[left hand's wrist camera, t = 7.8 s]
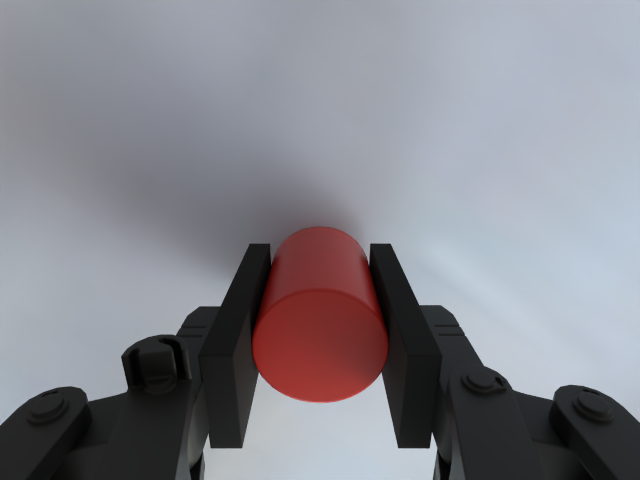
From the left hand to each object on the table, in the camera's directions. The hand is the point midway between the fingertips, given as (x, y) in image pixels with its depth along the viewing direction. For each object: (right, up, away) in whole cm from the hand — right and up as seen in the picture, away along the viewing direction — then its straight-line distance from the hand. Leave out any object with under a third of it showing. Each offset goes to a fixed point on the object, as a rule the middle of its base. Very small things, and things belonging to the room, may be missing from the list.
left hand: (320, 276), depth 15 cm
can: (0, 0, 0) cm, 0 cm away
